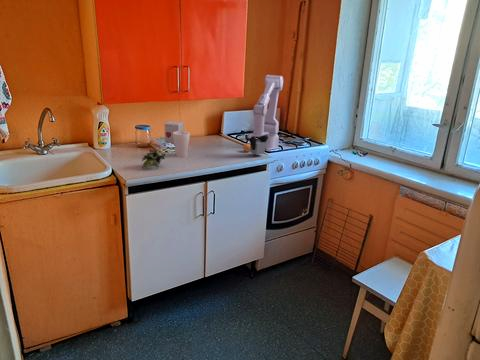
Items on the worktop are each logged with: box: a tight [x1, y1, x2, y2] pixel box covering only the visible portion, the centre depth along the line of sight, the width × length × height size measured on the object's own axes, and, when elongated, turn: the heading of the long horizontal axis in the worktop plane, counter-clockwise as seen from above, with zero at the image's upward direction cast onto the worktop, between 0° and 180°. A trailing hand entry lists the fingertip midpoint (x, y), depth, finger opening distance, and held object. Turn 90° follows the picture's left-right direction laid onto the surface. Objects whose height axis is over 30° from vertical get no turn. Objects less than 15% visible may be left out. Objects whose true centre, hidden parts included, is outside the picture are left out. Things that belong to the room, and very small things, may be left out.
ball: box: [242, 143, 250, 152], centre depth 227 cm, size 5×5×5 cm
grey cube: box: [249, 139, 266, 156], centre depth 220 cm, size 6×6×6 cm
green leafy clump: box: [141, 148, 166, 170], centre depth 192 cm, size 11×11×12 cm
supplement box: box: [164, 120, 185, 144], centre depth 229 cm, size 9×9×15 cm
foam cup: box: [173, 130, 191, 158], centre depth 213 cm, size 10×9×13 cm
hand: (257, 148), depth 220 cm, fingers closed on grey cube, 6 cm apart
